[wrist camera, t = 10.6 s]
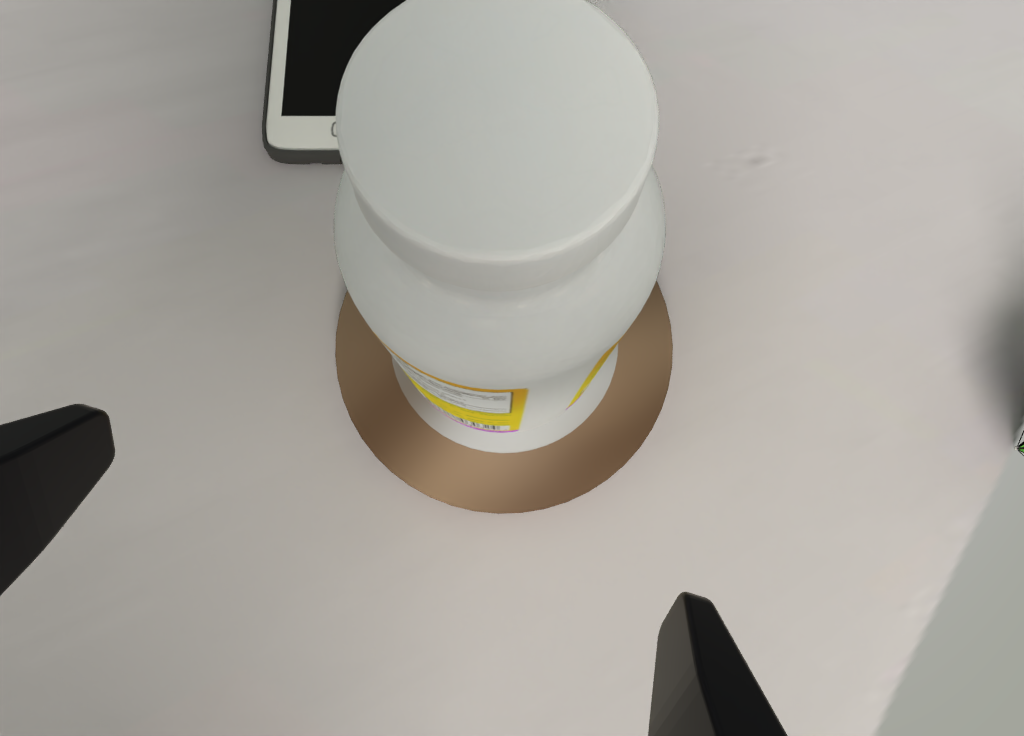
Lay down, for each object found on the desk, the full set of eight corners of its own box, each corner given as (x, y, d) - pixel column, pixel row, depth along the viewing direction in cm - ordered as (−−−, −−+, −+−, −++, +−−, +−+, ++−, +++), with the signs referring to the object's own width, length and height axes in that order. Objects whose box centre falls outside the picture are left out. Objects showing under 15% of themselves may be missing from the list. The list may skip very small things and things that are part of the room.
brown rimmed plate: (729, 356, 23) (745, 346, 21) (496, 587, 21) (495, 593, 19) (511, 146, 24) (512, 124, 23) (278, 341, 22) (262, 330, 21)
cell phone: (267, 169, 24) (258, 155, 24) (292, -118, 28) (284, -140, 27) (457, 168, 25) (455, 155, 24) (459, -117, 28) (458, -139, 27)
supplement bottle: (556, 230, 22) (631, -130, 9) (625, 398, 21) (816, 237, 8) (381, 287, 21) (213, -16, 9) (440, 464, 20) (340, 402, 8)
